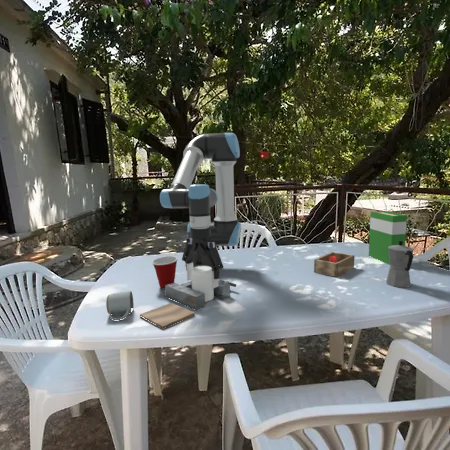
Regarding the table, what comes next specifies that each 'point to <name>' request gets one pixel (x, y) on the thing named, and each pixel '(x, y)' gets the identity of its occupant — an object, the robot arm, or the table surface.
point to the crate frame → (334, 264)
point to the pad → (167, 315)
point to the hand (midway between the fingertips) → (202, 283)
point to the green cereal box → (385, 233)
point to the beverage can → (202, 281)
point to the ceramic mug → (119, 304)
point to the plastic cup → (165, 269)
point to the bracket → (334, 260)
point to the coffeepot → (399, 265)
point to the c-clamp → (195, 293)
